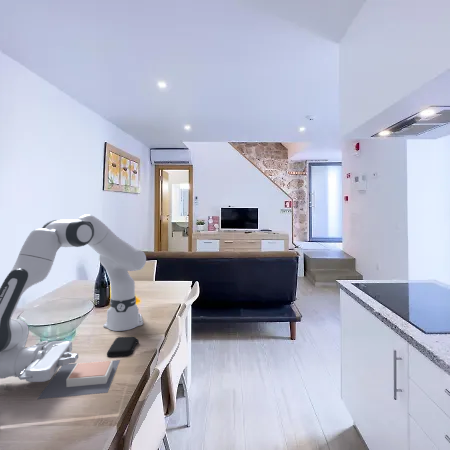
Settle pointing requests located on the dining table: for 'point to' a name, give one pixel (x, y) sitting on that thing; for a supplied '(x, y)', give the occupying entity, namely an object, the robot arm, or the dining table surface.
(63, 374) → the mat
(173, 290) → the dining table surface
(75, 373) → the tile
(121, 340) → the carrying case or bag
